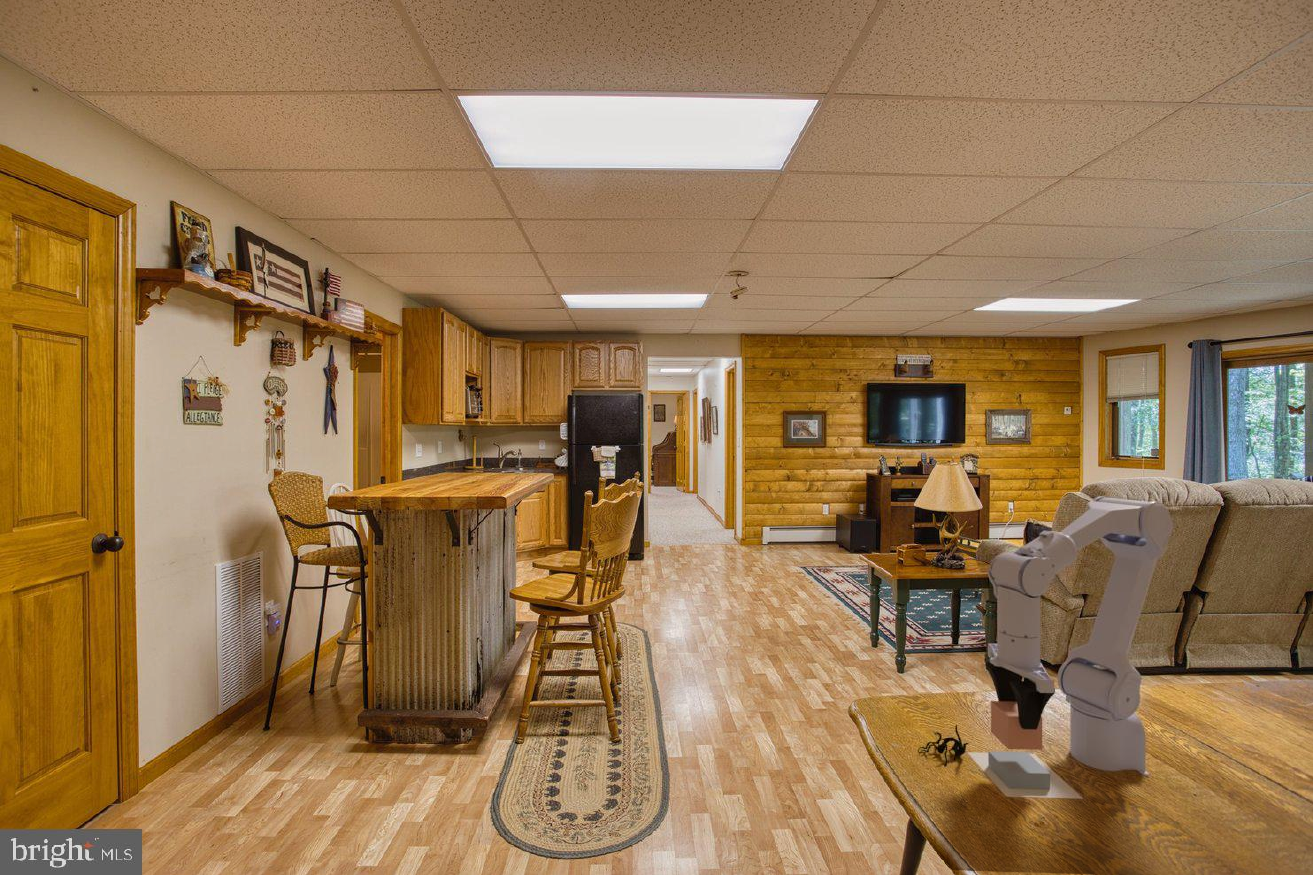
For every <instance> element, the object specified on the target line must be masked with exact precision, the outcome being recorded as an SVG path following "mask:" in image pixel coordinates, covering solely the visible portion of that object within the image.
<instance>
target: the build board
mask: <svg viewBox="0 0 1313 875" xmlns="http://www.w3.org/2000/svg"><path fill="white" fill-rule="evenodd" d="M966 754H967V755H968V756H969V757H970V758H971V759H972V760H973V761H974V763H976V765H977V767H979V768H980V769H981V770H982V771H983V773H984V774H985V775H986V776H987V777H988V778H989V779H990V781H991V782H992V783H993V784H994V785H995V786H996V787H997V788H998V789H999V790H1000V792H1001V793H1002V795H1004V796H1005V797H1006V798H1034V799H1035V798H1036V799H1040V798H1041V799H1073V800H1074V799H1075V800H1077V799H1078V800H1083V799H1084V798H1083V796H1081V795H1080V794H1079V792H1077V791H1076V790H1075V789H1074V788H1073V787H1071V786H1070V784H1068V783H1067V782H1066V781H1065V780H1064V779H1062V778H1061V777H1060V776H1059V775H1058V773H1056V772H1055V771H1054V770H1053V769H1052V768H1051V767H1050V766H1048V765H1047V764H1046V763H1045V762H1044V761H1043V760H1042V759H1041V758H1040V757H1039V756H1038V755H1036V754H1035V753H1028V754H1029V755H1031V756H1032V757H1033V758H1034V759H1035V760H1036V761H1037V762H1038V763H1039V764H1040V765H1041V766H1042V767H1043V768H1045V769H1046V770H1047V771H1048V772H1049V773H1050V790H1047V789H1009V788H1008V787H1007V786H1006V785H1005V784H1004V782H1003V781H1002V780H1001V779H1000V778H999V777H998V776H997V775H996V774H995V773H994V772H993V770H992V769H991V768H990V767H989V766H988V752H971V751H969V752H966Z"/></svg>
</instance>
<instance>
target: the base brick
mask: <svg viewBox="0 0 1313 875" xmlns="http://www.w3.org/2000/svg"><path fill="white" fill-rule="evenodd" d="M987 753H988V766H989V767H990V768H991V769H992V770H993V772H994V773H995V774H996V775H997V776H998V777H999V778H1000V779H1001V780H1002V781H1003V782H1004V784H1005V785H1006V786H1007V787H1008V788H1009V789H1047V790H1050V773H1049V772H1048V771H1047V770H1046V769H1045V768H1043V767H1042V766H1041V765H1040V764H1039V763H1038V762H1037V761H1036V760H1035V759H1034V758H1033V757H1032V756H1031V755H1029V754H1030V753H1028V751H997V750H996V751H994V750H989V751H988V752H987Z"/></svg>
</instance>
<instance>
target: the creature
mask: <svg viewBox="0 0 1313 875" xmlns="http://www.w3.org/2000/svg"><path fill="white" fill-rule="evenodd" d="M954 727H955V734H956V736H957V738H958V739H956V738H954V737H952V736H951V737H944V738H942V734H941V733H939V731H936V732H935V731H934V730H931V731H932V732H933V733H934V735H935V737H936V741H933V742H932V741H928V742H927V743H926V746H920V747H919V748H918V750H917V752H918V754H921V753H922V752H925V753H930V749H931V747H935V750H937V752H938V754H940V755H942V754H944V755H943V756H944V760H945V762H944V765H943V767H944V768H945V767H947V765H948V762H949V761H948V757H947V753H948V752H951V751H953V752H954V758H953V759H952V760H953V761H956V758H958V757H961V756H963V755H964V754H965V753H966V749H967V745H970V743H969V742H965V743H962V739H961V737H960V733H959V731H958V724H956V725H955V726H954ZM937 736H938V739H937ZM941 741H943V742H942V743H941V744H940V742H941ZM949 742H953V743H954V744H953V745H952V747H951V748H950V749H949V750H948V743H949ZM920 749H921V750H920Z"/></svg>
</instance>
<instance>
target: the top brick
mask: <svg viewBox="0 0 1313 875" xmlns="http://www.w3.org/2000/svg"><path fill="white" fill-rule="evenodd" d="M990 732H991V734H992V735H993V736H995V738H996V739H997V740H998V741H999V742H1001V744H1002V745H1004V746H1005V748H1006V749H1008V750H1028V751H1029V750H1030V751H1031V750H1035V751H1037V750H1038V751H1039V750H1040V751H1042V750H1043V716H1042V715H1041V718H1040V721H1039V724H1038V727H1037V729H1036V730H1035V729H1023V728H1022V727H1021V726H1020V722H1019V716H1018V706H1017V702H1012V701H998V700H997V701H996V700H991V701H990Z"/></svg>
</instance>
